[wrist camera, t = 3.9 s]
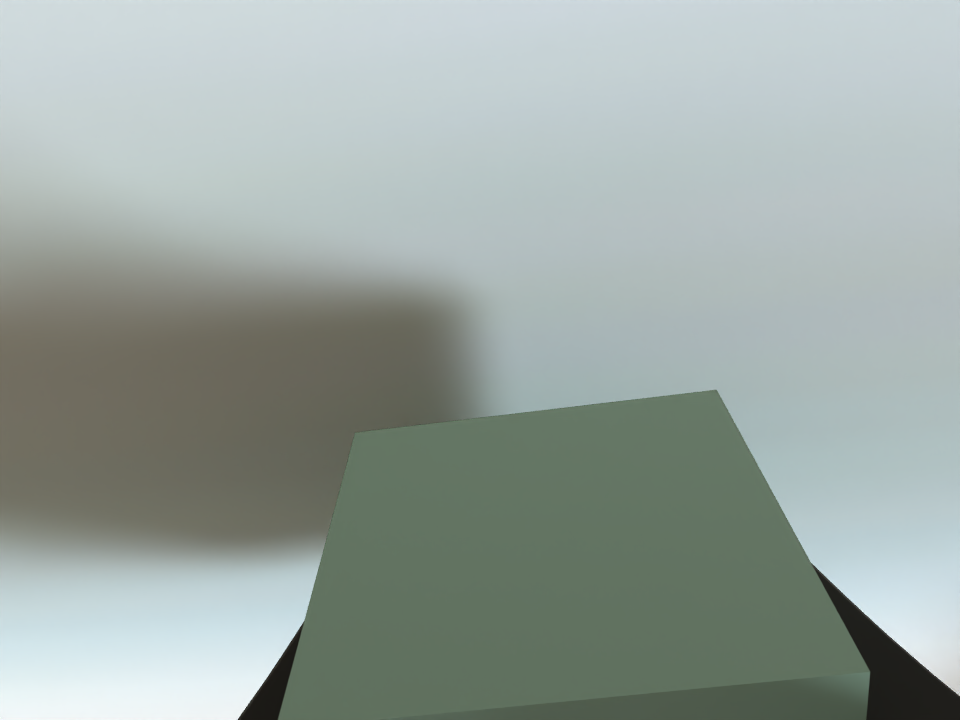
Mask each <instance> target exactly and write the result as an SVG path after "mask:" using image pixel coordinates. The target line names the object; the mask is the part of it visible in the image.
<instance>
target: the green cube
mask: <svg viewBox="0 0 960 720" xmlns="http://www.w3.org/2000/svg"><path fill="white" fill-rule="evenodd" d="M869 681H870V671H869V669H868V667H867V665H866V663H865V661H864V660H863V658H862V656H861V654H860V652H859V650H858V649H857V647H856V645H855V643H854V641H853V639H852V637H851V636H850V634H849V632H848V630H847V628H846V626H845V625H844V623H843V621H842V619H841V617H840V615H839V614H838V612H837V610H836V608H835V606H834V604H833V603H832V601H831V599H830V597H829V595H828V593H827V592H826V590H825V588H824V586H823V584H822V582H821V581H820V579H819V577H818V575H817V573H816V571H815V570H814V568H813V566H812V564H811V562H810V560H809V559H808V557H807V555H806V553H805V551H804V549H803V548H802V546H801V544H800V542H799V540H798V538H797V537H796V535H795V533H794V531H793V529H792V527H791V525H790V524H789V522H788V520H787V518H786V516H785V514H784V513H783V511H782V509H781V507H780V505H779V503H778V502H777V500H776V498H775V496H774V494H773V492H772V491H771V489H770V487H769V485H768V483H767V481H766V480H765V478H764V476H763V474H762V472H761V470H760V469H759V467H758V465H757V463H756V461H755V459H754V458H753V456H752V454H751V452H750V450H749V448H748V447H747V445H746V443H745V441H744V439H743V437H742V436H741V434H740V432H739V430H738V428H737V426H736V425H735V423H734V421H733V419H732V417H731V415H730V413H729V412H728V410H727V408H726V406H725V404H724V402H723V401H722V399H721V397H720V395H719V393H718V391H717V390H711V391H702V392H694V393H685V394H677V395H669V396H660V397H652V398H643V399H635V400H626V401H618V402H609V403H601V404H592V405H584V406H575V407H567V408H558V409H550V410H542V411H533V412H525V413H516V414H508V415H499V416H491V417H482V418H474V419H465V420H457V421H448V422H440V423H431V424H423V425H414V426H406V427H398V428H389V429H381V430H372V431H364V432H355V435H354V439H353V442H352V446H351V450H350V454H349V457H348V461H347V465H346V468H345V472H344V476H343V480H342V483H341V487H340V491H339V495H338V498H337V502H336V506H335V509H334V513H333V517H332V521H331V524H330V528H329V532H328V535H327V539H326V543H325V547H324V550H323V554H322V558H321V561H320V565H319V569H318V573H317V576H316V580H315V584H314V587H313V591H312V595H311V599H310V602H309V606H308V610H307V613H306V617H305V621H304V625H303V628H302V632H301V636H300V640H299V643H298V647H297V651H296V654H295V658H294V662H293V666H292V669H291V673H290V677H289V680H288V684H287V688H286V692H285V695H284V699H283V703H282V706H281V710H280V714H279V718H278V720H866V716H867V704H868V693H869Z"/></svg>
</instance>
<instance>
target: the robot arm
mask: <svg viewBox="0 0 960 720" xmlns="http://www.w3.org/2000/svg"><path fill="white" fill-rule="evenodd" d="M811 564H812V563H811ZM812 566H813V568H814V570H815V571H816V573H817V575H818V577H819V579H820V581H821V582H822V584H823V586H824V588H825V590H826V592H827V593H828V595H829V597H830V599H831V601H832V603H833V604H834V606H835V608H836V610H837V612H838V614H839V615H840V617H841V619H842V621H843V623H844V625H845V626H846V628H847V630H848V632H849V634H850V636H851V637H852V639H853V641H854V643H855V645H856V647H857V649H858V650H859V652H860V654H861V656H862V658H863V660H864V661H865V663H866V665H867V667H868V669H869V671H870V681H869V693H868V704H867V716H866V720H960V696H959V695H957V694H956V693H955V692H954V691H953V690H951V689H950V688H949V687H948V686H947V685H945V684H944V683H943V682H942V681H940V680H939V679H938V678H937V677H936V676H934V675H933V674H932V673H931V672H930V671H929V670H927V669H926V668H925V667H924V666H923V665H922V664H920V663H919V662H918V661H917V660H916V659H915V658H914V657H912V656H911V655H910V654H909V653H908V652H907V651H906V650H904V649H903V648H902V647H901V646H900V645H899V644H897V643H896V642H895V641H894V640H893V639H892V638H891V637H889V636H888V635H887V634H886V633H885V632H884V631H883V630H882V629H881V628H879V627H878V626H877V625H876V624H875V623H874V622H873V621H872V620H871V619H870V618H869V617H867V616H866V615H865V614H864V613H863V612H862V611H861V610H860V609H859V608H858V607H857V606H856V605H855V604H854V603H852V602H851V601H850V600H849V599H848V598H847V597H846V596H845V595H844V594H843V593H842V592H841V591H840V590H839V589H838V588H837V587H836V586H835V585H833V584H832V583H831V582H830V581H829V580H828V579H827V578H826V577H825V576H824V575H823V574H822V573H821V572H820V571H819V570H818V569H817V568H816V567H815V566H814V565H813V564H812ZM303 625H304V622H303V624H302V625H301V627H300V628H299V630H298V632H297V633H296V635H295V636H294V638H293V639H292V641H291V642H290V644H289V645H288V647H287V649H286V650H285V652H284V653H283V655H282V656H281V658H280V659H279V661H278V662H277V664H276V665H275V667H274V668H273V670H272V671H271V673H270V674H269V676H268V677H267V679H266V680H265V682H264V683H263V684H262V686H261V687H260V689H259V690H258V691H257V693H256V694H255V696H254V697H253V699H252V700H251V701H250V703H249V704H248V706H247V707H246V709H245V710H244V711H243V713H242V714H241V716H240V717H239V718H238V720H278V718H279V714H280V710H281V706H282V703H283V699H284V695H285V692H286V688H287V684H288V680H289V677H290V673H291V669H292V666H293V662H294V658H295V654H296V651H297V647H298V643H299V640H300V636H301V632H302V628H303Z"/></svg>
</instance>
